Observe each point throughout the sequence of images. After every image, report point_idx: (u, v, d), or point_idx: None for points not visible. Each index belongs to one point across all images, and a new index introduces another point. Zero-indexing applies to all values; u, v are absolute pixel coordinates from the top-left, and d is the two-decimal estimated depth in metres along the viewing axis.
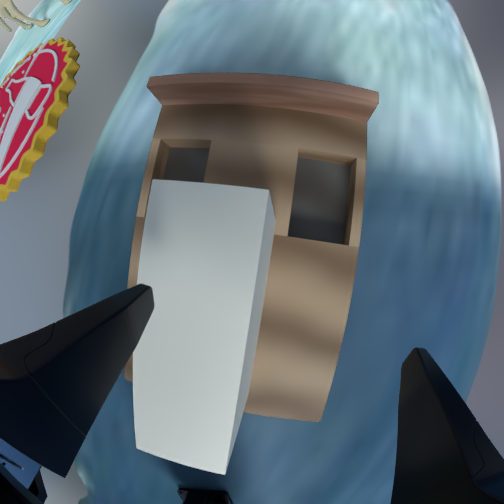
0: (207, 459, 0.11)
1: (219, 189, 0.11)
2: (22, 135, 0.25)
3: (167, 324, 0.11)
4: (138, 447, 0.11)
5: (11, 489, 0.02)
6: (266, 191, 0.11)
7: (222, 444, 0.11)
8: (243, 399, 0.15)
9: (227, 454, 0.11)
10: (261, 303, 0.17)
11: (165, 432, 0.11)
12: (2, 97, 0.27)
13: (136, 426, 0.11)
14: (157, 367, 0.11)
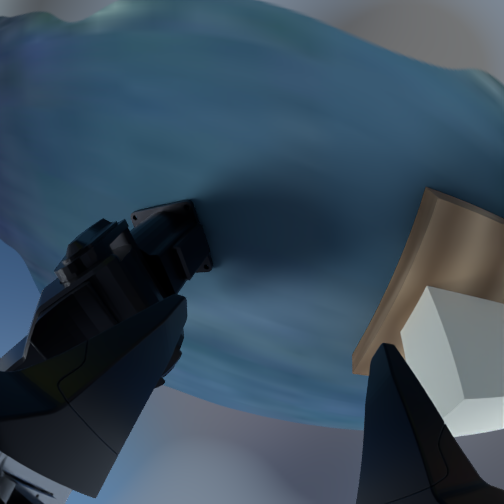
0: None
1: None
2: None
3: None
4: (464, 399, 0.09)
5: None
6: None
7: None
8: None
9: None
10: None
11: (469, 414, 0.10)
12: None
13: (483, 399, 0.09)
14: None
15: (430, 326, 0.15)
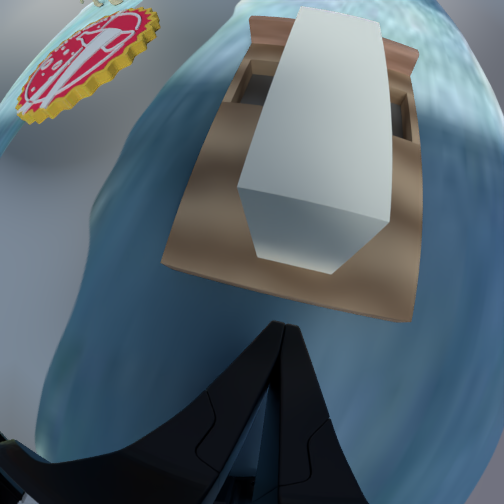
0: (363, 186, 0.08)
1: (348, 15, 0.11)
2: (94, 62, 0.28)
3: (318, 53, 0.10)
4: (241, 184, 0.09)
5: None
6: (377, 23, 0.11)
7: (383, 159, 0.09)
8: None
9: (390, 176, 0.08)
10: None
11: (302, 144, 0.09)
12: (70, 44, 0.32)
13: (254, 143, 0.09)
14: (304, 77, 0.10)
15: (274, 248, 0.15)
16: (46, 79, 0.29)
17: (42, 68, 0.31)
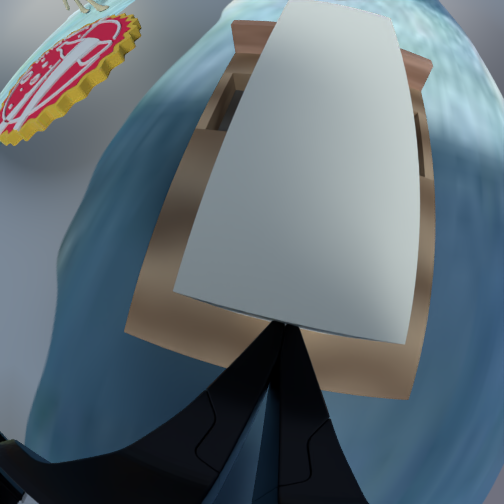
0: (372, 289, 0.05)
1: (352, 8, 0.08)
2: (69, 78, 0.25)
3: (310, 57, 0.07)
4: (179, 287, 0.06)
5: None
6: (388, 18, 0.08)
7: (406, 235, 0.05)
8: None
9: (415, 266, 0.05)
10: None
11: (278, 214, 0.06)
12: (50, 55, 0.29)
13: (202, 213, 0.06)
14: (289, 94, 0.07)
15: (252, 316, 0.12)
16: (23, 95, 0.26)
17: (21, 82, 0.28)
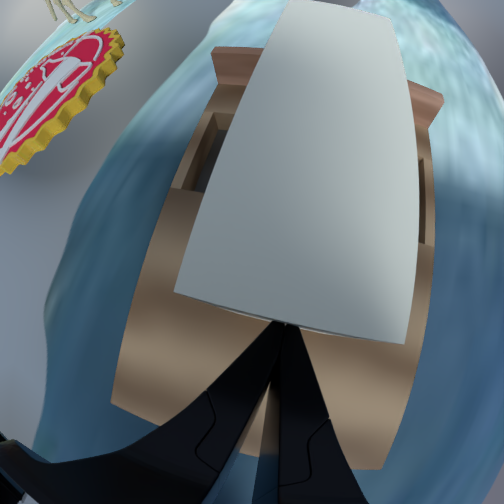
0: (372, 290, 0.05)
1: (351, 9, 0.08)
2: (48, 106, 0.24)
3: (310, 57, 0.07)
4: (179, 288, 0.06)
5: None
6: (388, 19, 0.08)
7: (405, 236, 0.06)
8: None
9: (414, 266, 0.05)
10: None
11: (278, 215, 0.06)
12: (34, 74, 0.28)
13: (203, 213, 0.06)
14: (288, 94, 0.07)
15: (252, 316, 0.12)
16: (6, 121, 0.25)
17: (6, 104, 0.27)
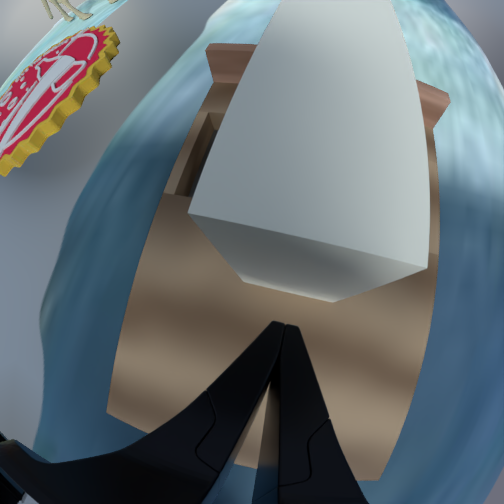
0: (390, 210, 0.05)
1: None
2: (42, 106, 0.23)
3: (316, 23, 0.07)
4: (194, 209, 0.06)
5: None
6: None
7: (416, 166, 0.05)
8: None
9: (427, 193, 0.05)
10: None
11: (293, 142, 0.06)
12: (29, 74, 0.27)
13: (219, 141, 0.06)
14: (297, 50, 0.07)
15: (261, 277, 0.12)
16: (1, 122, 0.24)
17: (1, 105, 0.26)
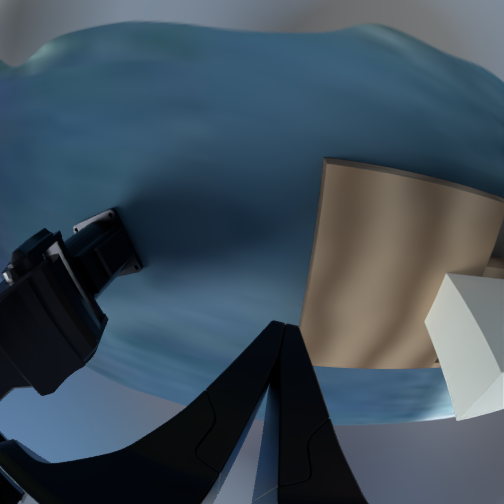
0: (475, 410, 0.10)
1: None
2: None
3: None
4: (501, 373, 0.09)
5: None
6: None
7: (482, 412, 0.11)
8: None
9: (474, 416, 0.11)
10: None
11: None
12: None
13: None
14: None
15: (455, 311, 0.15)
16: None
17: None
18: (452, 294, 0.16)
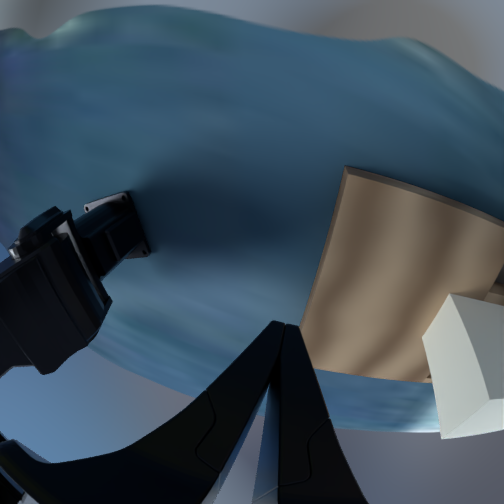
0: (460, 431, 0.11)
1: None
2: None
3: None
4: (489, 400, 0.09)
5: None
6: None
7: (466, 434, 0.11)
8: None
9: (458, 436, 0.11)
10: None
11: (491, 413, 0.09)
12: None
13: None
14: None
15: (454, 332, 0.15)
16: None
17: None
18: (452, 315, 0.16)
